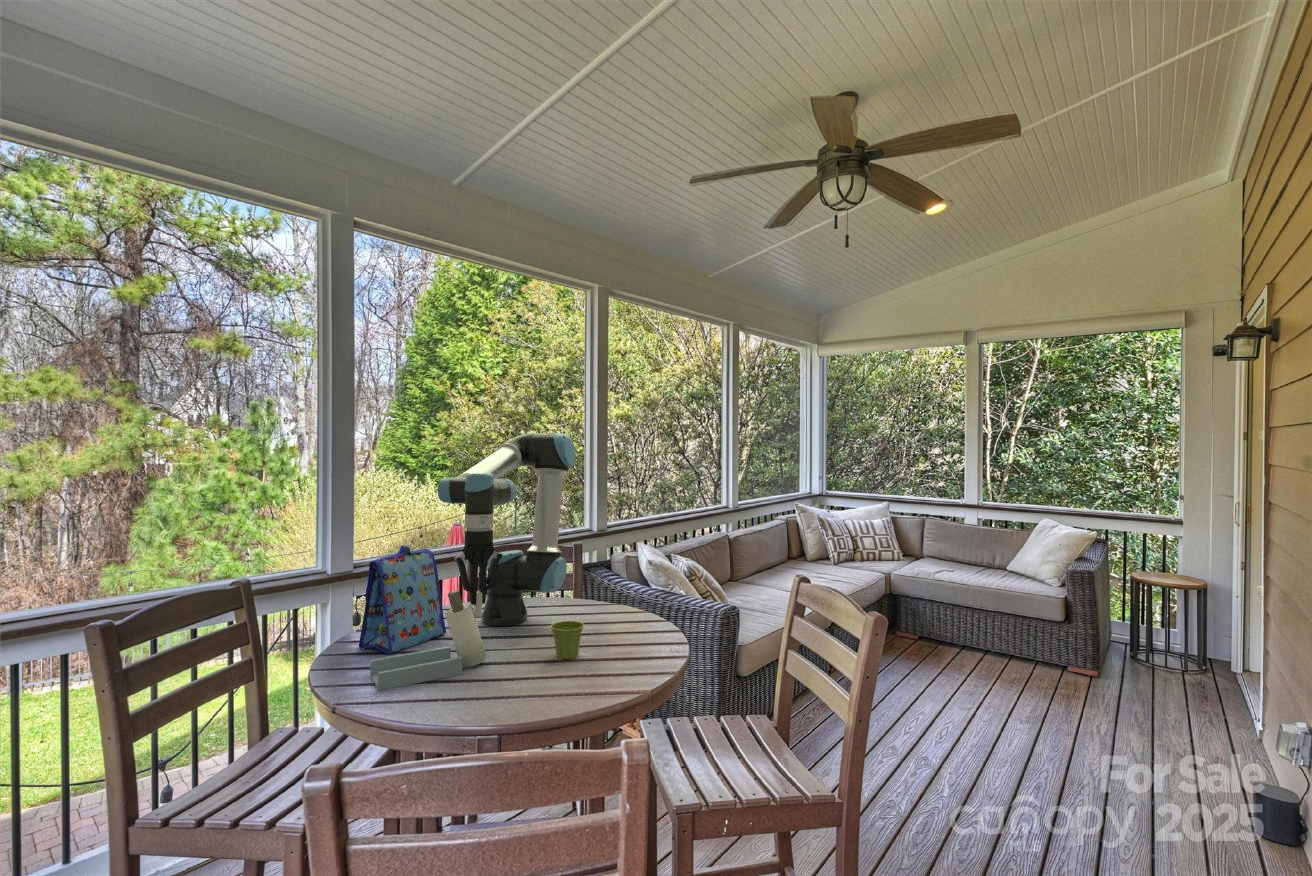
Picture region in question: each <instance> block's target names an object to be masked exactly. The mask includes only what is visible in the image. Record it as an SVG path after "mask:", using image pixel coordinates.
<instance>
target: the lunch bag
mask: <svg viewBox="0 0 1312 876" xmlns="http://www.w3.org/2000/svg"><path fill="white" fill-rule="evenodd" d="M438 572H439V571H438V567H437V562H436V558H435V556H434V553H433V552H432V550H430V549H428V548H422V549H416V550H411V548H410V546H408V545H404V544H403V545H401V546H400V547H399V551H398V552H397V553H395V554H391V555H387V556H382V557H380V558H377V559H374V560H371V561H370V562H369V566H368V578H367V585H366V589H365V606H364V613H363V617H362V624H361V630H360V636H359V641H358V647H359V649H362V648H365V649H370V648H371V649H372V648H373V649H374V648H375V649H377V650H379V651H380V652H382V653H384V654H385V655H387V654H388V655H390V654H392V653H395V652H398V651H402V650H405V649H407V648H410V647H413V646H415V645H419V644H422V643H424V642H426V641H427V642H428V641H429V640H432V639H435V638H436V637H440V636H442V635H445V634H447V627H446V623H445V617H444V609H443V602H442V596H441V588H440V582H439V581H440V580H439V574H438ZM401 649H402V650H401Z"/></svg>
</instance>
